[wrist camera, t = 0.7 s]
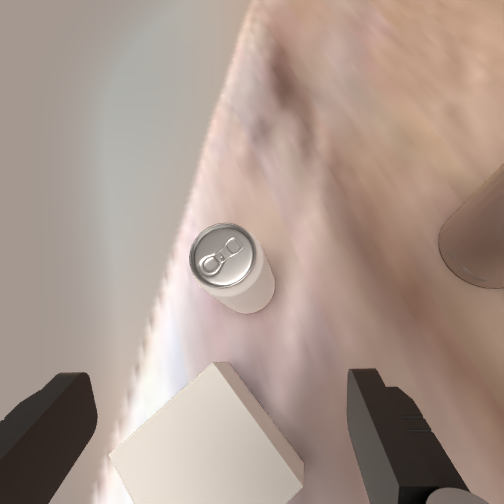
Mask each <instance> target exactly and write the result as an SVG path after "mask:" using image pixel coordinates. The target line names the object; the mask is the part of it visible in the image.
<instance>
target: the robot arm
mask: <svg viewBox="0 0 504 504" xmlns="http://www.w3.org/2000/svg"><path fill="white" fill-rule="evenodd" d="M439 248H440V252H441V255H442V257H443V260H444V261H445V262H446V264H447V265H448V267H449V268H450V269H451V270H452V271H453V272H454V273H455V274H456V275H457V276H459V277H460V278H462V279H463V280H465V281H467V282H469V283H471V284H474V285H477V286H481V287H484V288H504V164H503V165H502V166H501V167H500V168H499V169H498V170H497V171H496V172H495V173H494V174H493V175H492V176H491V177H490V178H489V179H488V180H487V181H486V182H485V183H484V184H483V185H482V186H481V187H480V188H479V189H478V190H477V191H476V192H475V193H474V194H473V195H472V196H471V197H470V198H469V199H468V200H467V201H466V202H465V203H464V204H463V205H462V206H461V207H460V208H459V209H458V210H457V211H456V212H455V213H454V214H453V215H452V216H451V217H450V218H449V219H448V220H447V221H446V222H445V224H444V225H443V227H442V229H441V232H440V235H439ZM347 423H348V429H349V434H350V438H351V441H352V444H353V448H354V451H355V454H356V458H357V461H358V464H359V467H360V471H361V474H362V477H363V481H364V484H365V487H366V491H367V494H368V497H369V500H370V504H489V503H488V502H486V501H485V500H483V499H482V498H480V497H478V496H476V495H474V494H472V493H471V492H470V491H469V489H468V488H467V486H466V485H465V483H464V481H463V480H462V478H461V476H460V475H459V473H458V472H457V470H456V468H455V467H454V465H453V464H452V462H451V460H450V459H449V457H448V456H447V454H446V452H445V451H444V449H443V447H442V446H441V444H440V443H439V441H438V439H437V438H436V436H435V435H434V433H432V432H431V428H430V427H429V425H428V423H427V422H426V420H425V419H423V415H422V414H421V412H420V410H419V409H418V407H417V406H416V404H415V402H414V401H413V399H411V398H410V397H409V396H408V395H407V394H405V393H404V392H403V391H402V390H401V389H399V388H398V387H386V386H385V384H384V382H383V381H382V379H381V377H380V375H379V373H378V371H377V370H376V369H349V371H348V385H347ZM96 425H97V409H96V405H95V400H94V395H93V391H92V386H91V382H90V378H89V375H88V374H87V373H84V372H82V373H81V372H78V373H59V374H57V375H56V376H55V377H54V378H53V379H52V380H51V381H50V382H49V383H48V384H47V385H46V386H45V387H44V388H43V389H42V390H39V391H38V392H36V393H35V394H33V395H31V396H30V397H28V398H27V399H25V400H24V401H22V402H20V403H19V404H18V405H17V406H16V407H15V408H14V409H13V410H12V411H11V412H10V413H9V414H8V415H7V416H6V417H5V419H4V420H2V421H0V504H48V503H49V502H50V500H51V499H52V497H53V496H54V494H55V492H56V491H57V490H58V488H59V486H60V485H61V483H62V482H63V480H64V479H65V477H66V476H67V474H68V473H69V471H70V470H71V468H72V466H73V465H74V463H75V462H76V460H77V458H78V457H79V456H80V454H81V453H82V451H83V450H84V448H85V447H86V445H87V444H88V442H89V440H90V439H91V437H92V436H93V434H94V431H95V429H96Z"/></svg>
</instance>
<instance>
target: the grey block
mask: <svg viewBox="0 0 504 504" xmlns="http://www.w3.org/2000/svg"><path fill="white" fill-rule="evenodd" d="M109 457H110V459H111V461H112V463H113V465H114V466H115V468H116V470H117V472H118V474H119V476H120V478H121V480H122V482H123V484H124V486H125V488H126V490H127V491H128V493H129V495H130V497H131V499H132V501H133V503H134V504H286V503H287V502H288V501H289V500H290V499H291V498H292V497H293V496H294V495H295V494H296V493H297V492H299V491H300V490H301V489H302V488H303V484H304V463H303V461H302V460H301V459H300V457H299V456H298V455H297V453H296V452H295V451H294V449H293V448H292V447H291V445H290V444H289V443H288V441H287V440H286V439H285V437H284V436H283V435H282V433H281V432H280V431H279V429H278V428H277V427H276V425H275V424H274V423H273V421H272V420H271V419H270V417H269V416H268V414H267V413H266V412H265V410H264V409H263V408H262V406H261V405H260V404H259V402H258V401H257V400H256V398H255V397H254V396H253V394H252V393H251V392H250V390H249V389H248V388H247V386H246V385H245V384H244V382H243V381H242V380H241V378H240V377H239V376H238V374H237V373H236V372H235V370H234V369H233V368H232V366H231V365H230V364H229V362H213V363H212V364H211V365H209V366H208V367H207V368H206V369H205V370H204V371H203V372H201V373H200V374H199V375H198V376H197V377H196V378H195V379H194V380H192V381H191V382H190V383H189V384H188V385H187V386H186V387H185V388H183V389H182V390H181V391H180V392H179V393H178V394H177V395H176V396H174V397H173V398H172V399H171V400H170V401H169V402H168V403H166V404H165V405H164V406H163V407H162V408H161V409H160V410H159V411H157V412H156V413H155V414H154V415H153V416H152V417H151V418H150V419H148V420H147V421H146V422H145V423H144V424H143V425H142V426H141V427H139V428H138V429H137V430H136V431H135V432H134V433H133V434H131V435H130V436H129V437H128V438H127V439H126V440H125V441H124V442H122V443H121V444H120V445H119V446H118V447H117V448H116V449H115V450H113V451H112V452H111V453H110V454H109Z"/></svg>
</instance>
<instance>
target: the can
mask: <svg viewBox="0 0 504 504" xmlns="http://www.w3.org/2000/svg"><path fill="white" fill-rule="evenodd" d="M189 261H190V267H191V270H192V273H193V276H194V279H195V280H196V282H197V283H198V285H199V286H200V287H201V288H202V289H203V290H204V291H206V292H207V293H208V294H210V295H211V296H213V297H214V298H215V299H217V300H218V301H220V302H221V303H223V304H224V305H226V306H227V307H229V308H231V309H232V310H234V311H236V312H239V313H244V314H249V313H254V312H257V311H259V310H261V309H263V308H264V307H265V306H266V305H267V304H268V303H269V302H270V300H271V299H272V297H273V294H274V290H275V280H274V276H273V273H272V271H271V268H270V266H269V263H268V261H267V258H266V256H265V253H264V251H263V249H262V246H261V244H260V243H259V241H258V240H257V238H256V237H255V236H254V235H253V234H252V233H250V232H249V231H247V230H246V229H244V228H242V227H240V226H238V225H236V224H232V223H219V224H215V225H212V226H210V227H208V228H207V229H205V230H204V231H202V232H201V233H200V234H199V235H198V236H197V238H196V239H195V241H194V242H193V244H192V247H191V250H190V255H189Z"/></svg>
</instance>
